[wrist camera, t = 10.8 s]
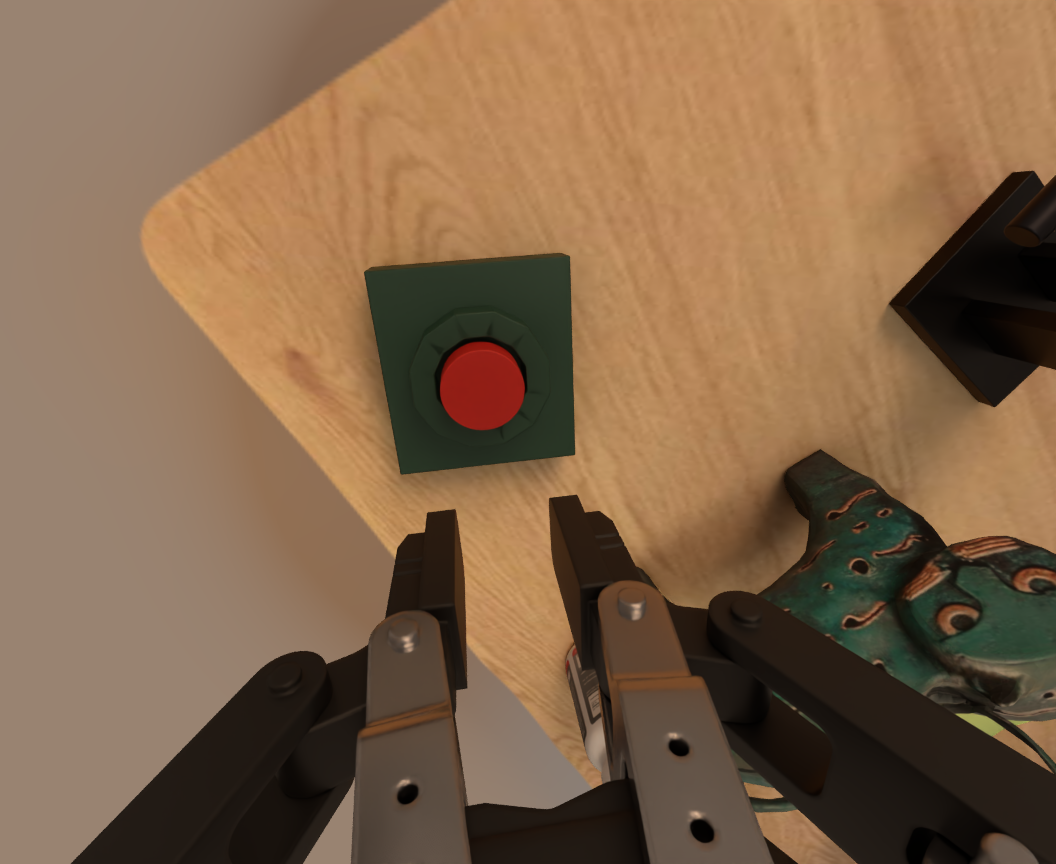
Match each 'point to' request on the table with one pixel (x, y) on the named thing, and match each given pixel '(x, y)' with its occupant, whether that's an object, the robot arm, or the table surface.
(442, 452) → the button block
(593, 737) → the pill bottle
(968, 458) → the table surface
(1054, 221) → the lever
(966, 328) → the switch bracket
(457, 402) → the button
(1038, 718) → the ceramic cat
